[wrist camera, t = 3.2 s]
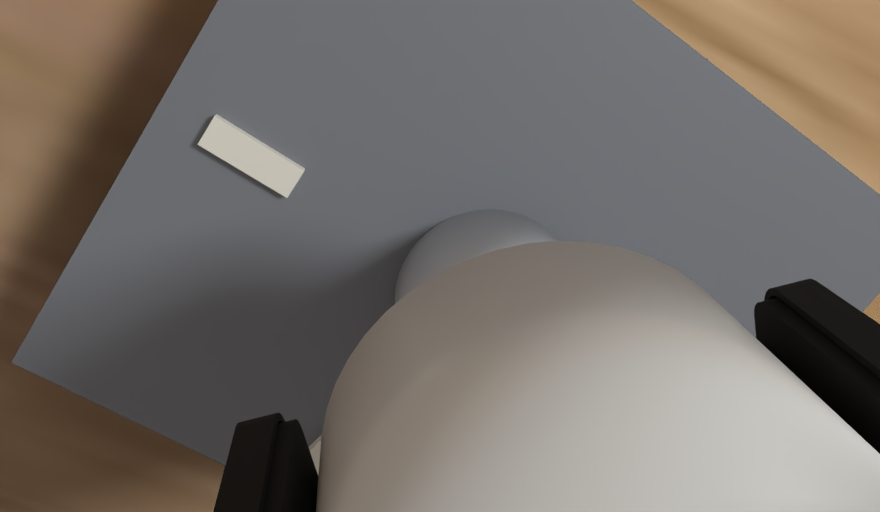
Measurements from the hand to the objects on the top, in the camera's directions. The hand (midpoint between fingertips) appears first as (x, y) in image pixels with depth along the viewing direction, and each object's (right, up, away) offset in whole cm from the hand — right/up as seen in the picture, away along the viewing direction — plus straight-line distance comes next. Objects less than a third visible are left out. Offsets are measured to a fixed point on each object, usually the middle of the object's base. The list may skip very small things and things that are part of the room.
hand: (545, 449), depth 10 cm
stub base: (-1, +3, +8) cm, 8 cm away
